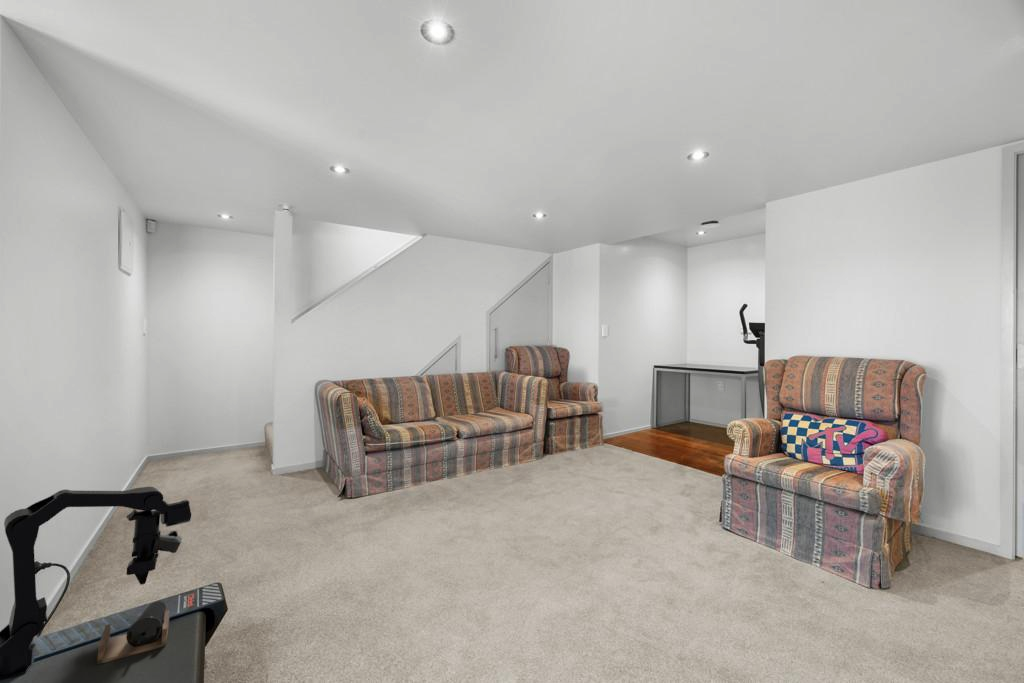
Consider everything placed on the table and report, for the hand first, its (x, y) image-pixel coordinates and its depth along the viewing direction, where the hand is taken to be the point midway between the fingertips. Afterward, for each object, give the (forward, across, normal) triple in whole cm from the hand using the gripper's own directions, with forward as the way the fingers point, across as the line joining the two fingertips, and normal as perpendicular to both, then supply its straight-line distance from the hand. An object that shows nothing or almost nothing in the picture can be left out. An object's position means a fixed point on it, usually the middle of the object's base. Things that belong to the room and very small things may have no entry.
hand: (143, 583), depth 128 cm
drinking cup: (+9, +1, -4) cm, 10 cm away
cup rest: (+12, -10, 0) cm, 16 cm away
